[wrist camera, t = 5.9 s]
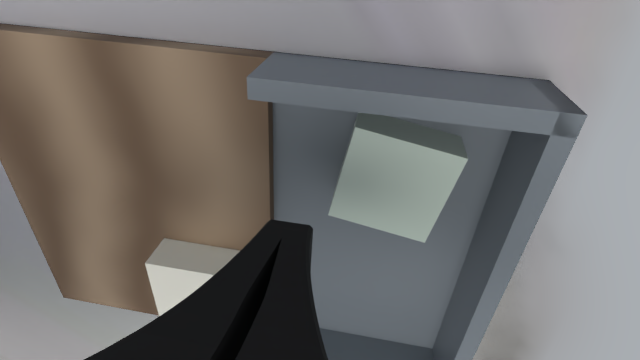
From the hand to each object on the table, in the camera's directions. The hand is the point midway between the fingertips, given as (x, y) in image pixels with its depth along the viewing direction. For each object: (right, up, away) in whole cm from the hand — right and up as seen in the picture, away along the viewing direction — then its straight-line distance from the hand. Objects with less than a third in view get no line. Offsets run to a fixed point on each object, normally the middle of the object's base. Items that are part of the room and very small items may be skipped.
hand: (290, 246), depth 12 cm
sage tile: (+4, +3, +6) cm, 8 cm away
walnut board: (-9, +1, +10) cm, 13 cm away
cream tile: (-6, -3, +11) cm, 13 cm away
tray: (+4, -1, +8) cm, 9 cm away
